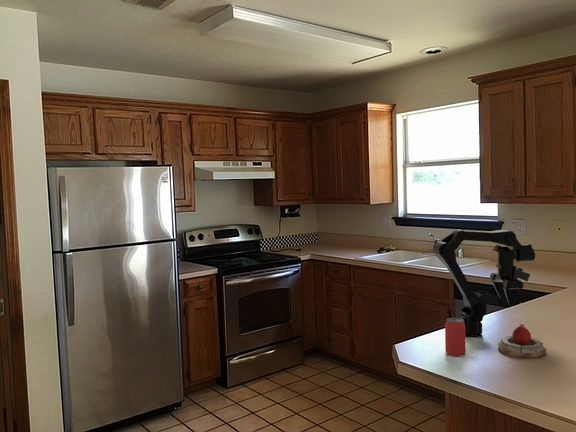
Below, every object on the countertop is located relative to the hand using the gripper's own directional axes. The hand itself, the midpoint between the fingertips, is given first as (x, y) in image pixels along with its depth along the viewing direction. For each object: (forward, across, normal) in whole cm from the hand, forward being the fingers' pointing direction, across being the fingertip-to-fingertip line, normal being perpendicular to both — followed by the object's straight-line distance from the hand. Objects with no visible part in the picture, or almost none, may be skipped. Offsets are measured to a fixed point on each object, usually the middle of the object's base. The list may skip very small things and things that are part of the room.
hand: (506, 302), depth 190 cm
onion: (+11, -22, +3) cm, 25 cm away
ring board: (+12, -22, +3) cm, 25 cm away
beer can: (+12, -24, +26) cm, 37 cm away
